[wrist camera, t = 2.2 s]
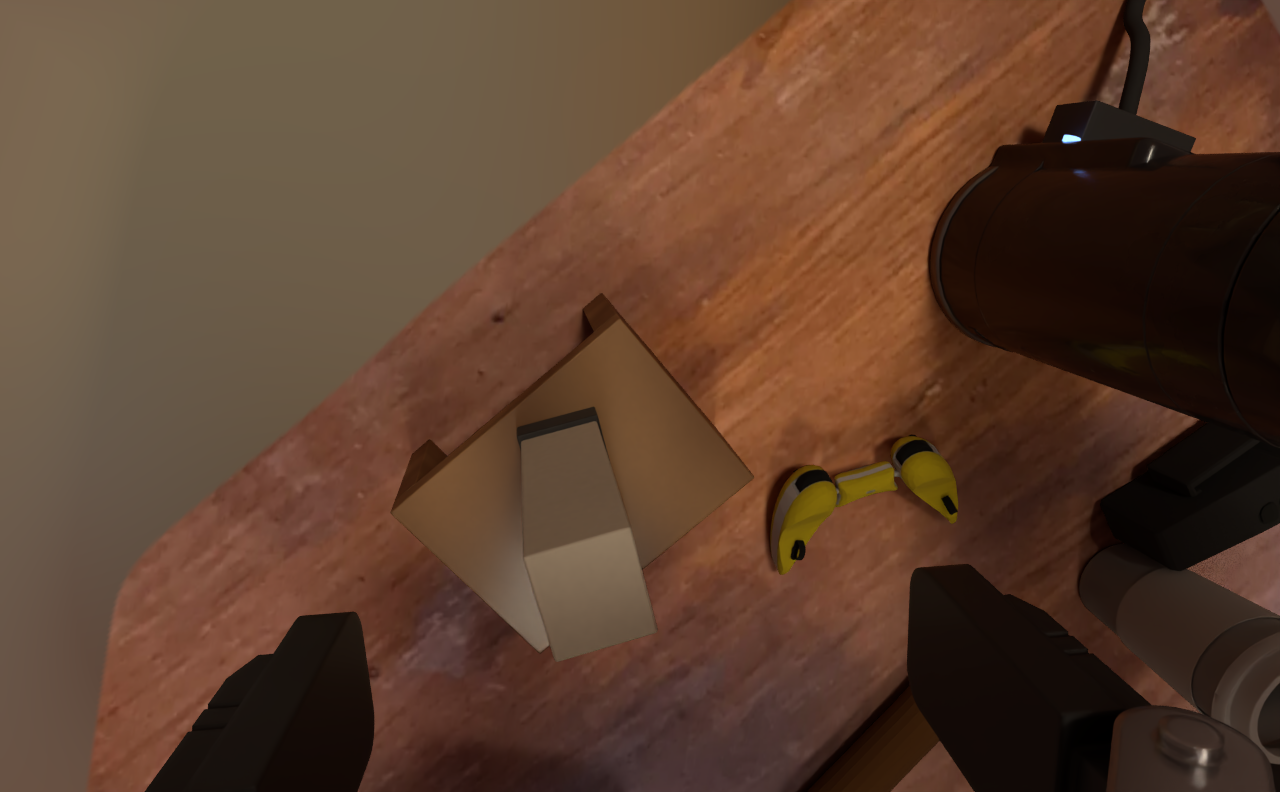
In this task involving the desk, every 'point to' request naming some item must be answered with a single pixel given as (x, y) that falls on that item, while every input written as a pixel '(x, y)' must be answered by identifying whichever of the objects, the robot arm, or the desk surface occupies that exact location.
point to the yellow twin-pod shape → (856, 494)
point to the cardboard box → (638, 452)
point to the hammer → (882, 751)
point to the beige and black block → (579, 538)
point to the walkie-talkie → (1199, 498)
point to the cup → (1193, 638)
